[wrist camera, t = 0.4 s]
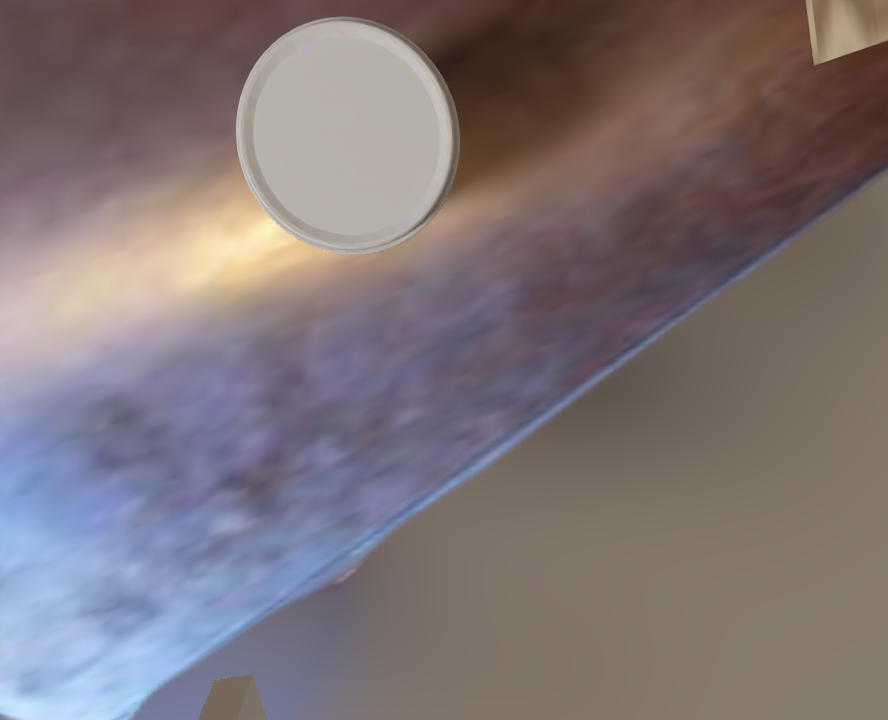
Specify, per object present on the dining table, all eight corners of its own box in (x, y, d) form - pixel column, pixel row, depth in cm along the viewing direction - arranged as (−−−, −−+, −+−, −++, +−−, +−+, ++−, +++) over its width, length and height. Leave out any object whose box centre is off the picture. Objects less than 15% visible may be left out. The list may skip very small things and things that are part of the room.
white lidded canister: (469, 108, 34) (493, 60, 22) (422, 258, 36) (421, 284, 25) (317, 53, 33) (260, -28, 21) (278, 211, 35) (207, 216, 24)
